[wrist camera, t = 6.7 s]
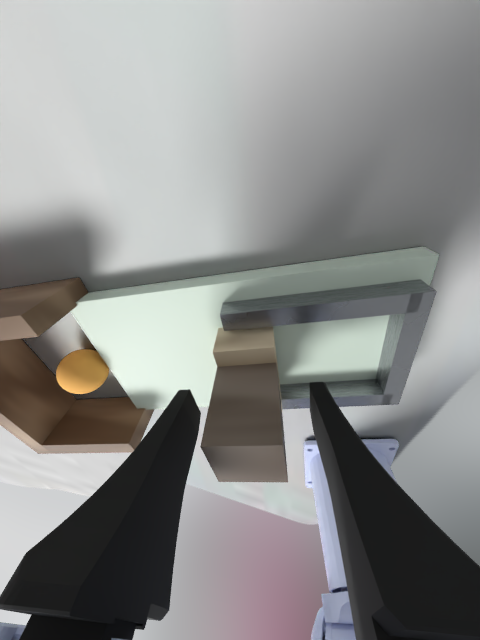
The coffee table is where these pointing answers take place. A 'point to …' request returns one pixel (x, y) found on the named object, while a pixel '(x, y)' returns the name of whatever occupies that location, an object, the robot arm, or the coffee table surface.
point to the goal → (55, 382)
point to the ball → (82, 371)
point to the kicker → (245, 409)
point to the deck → (204, 320)
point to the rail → (347, 303)
